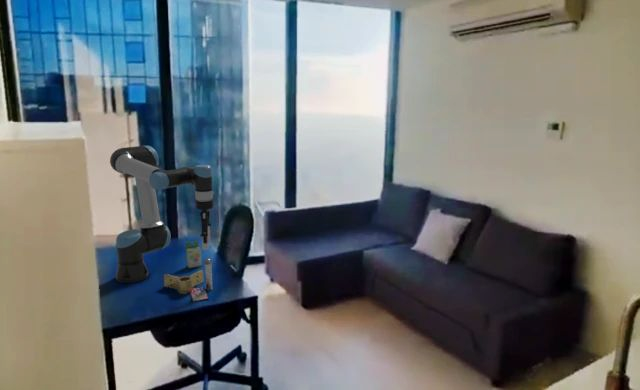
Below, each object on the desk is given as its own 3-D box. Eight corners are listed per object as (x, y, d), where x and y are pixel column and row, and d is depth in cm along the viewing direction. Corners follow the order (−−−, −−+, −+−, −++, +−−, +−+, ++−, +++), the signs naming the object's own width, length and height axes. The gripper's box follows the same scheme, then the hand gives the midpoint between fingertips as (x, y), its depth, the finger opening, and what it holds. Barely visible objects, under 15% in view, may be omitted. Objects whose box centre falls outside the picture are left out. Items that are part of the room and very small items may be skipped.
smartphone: (192, 301, 200) (187, 288, 214) (192, 303, 200) (188, 290, 214) (209, 298, 203) (204, 285, 217) (209, 300, 203) (204, 287, 217)
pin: (204, 289, 214) (203, 259, 211) (210, 287, 216) (208, 257, 213) (208, 290, 212) (206, 260, 209) (213, 289, 214) (212, 259, 211)
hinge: (164, 286, 217) (163, 274, 215) (195, 276, 228) (194, 265, 227) (180, 296, 206) (179, 284, 205) (211, 285, 218) (210, 274, 216)
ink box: (188, 268, 238) (187, 244, 235) (186, 266, 242) (185, 242, 239) (202, 266, 242) (200, 242, 239) (199, 263, 245) (198, 240, 242)
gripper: (211, 206, 191) (213, 253, 196) (214, 193, 215) (215, 235, 220) (193, 206, 190) (196, 254, 195) (197, 193, 214) (199, 236, 218)
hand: (206, 244), depth 207 cm, fingers open, 13 cm apart
